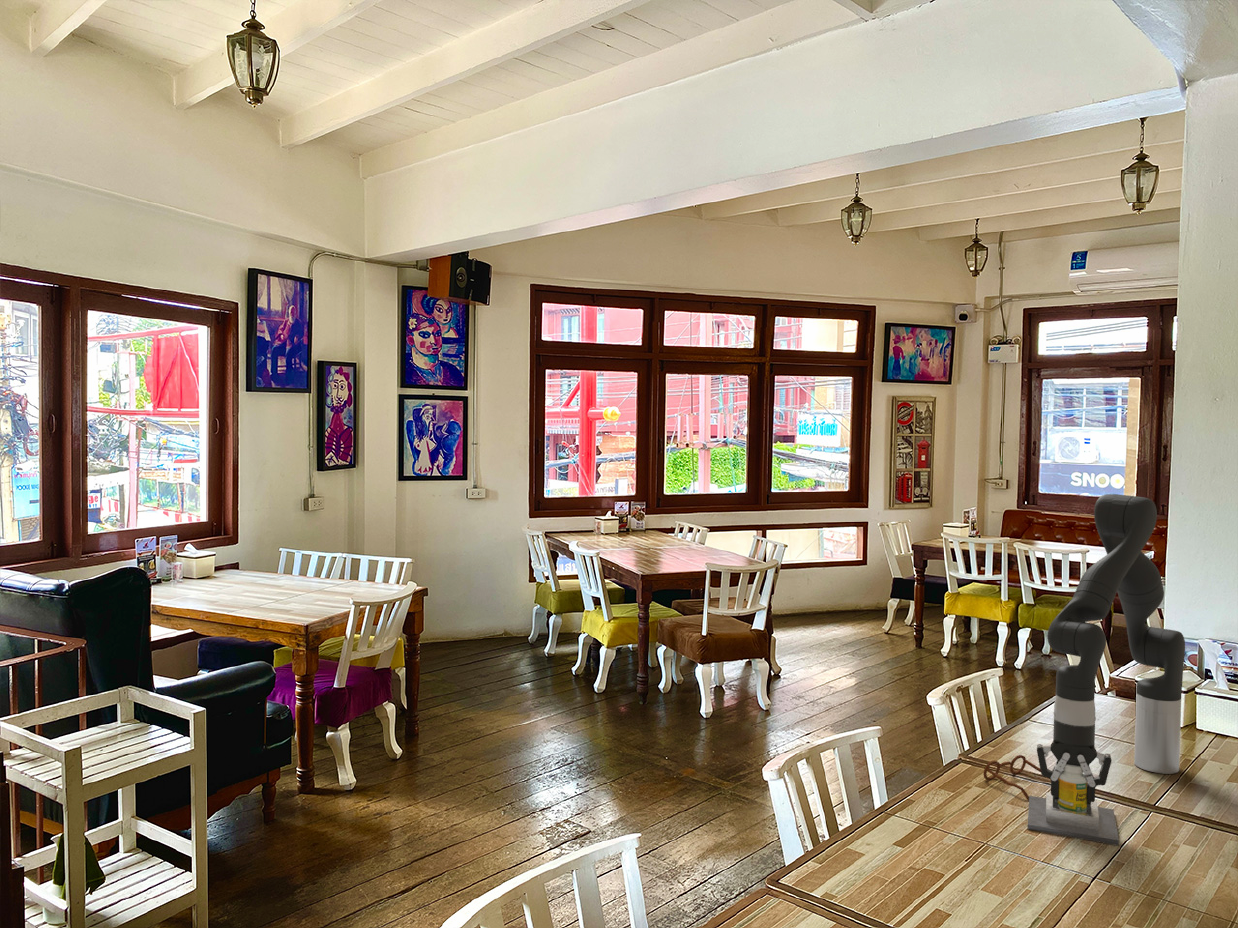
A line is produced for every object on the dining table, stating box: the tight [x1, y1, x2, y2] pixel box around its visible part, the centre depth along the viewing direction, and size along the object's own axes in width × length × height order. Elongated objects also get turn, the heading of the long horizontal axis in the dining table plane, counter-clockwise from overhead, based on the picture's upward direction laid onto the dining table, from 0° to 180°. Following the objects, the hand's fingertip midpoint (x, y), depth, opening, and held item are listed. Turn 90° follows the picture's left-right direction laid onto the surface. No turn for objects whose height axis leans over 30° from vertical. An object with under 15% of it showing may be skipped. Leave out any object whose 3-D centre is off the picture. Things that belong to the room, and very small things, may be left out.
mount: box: [1027, 792, 1120, 846], centre depth 184 cm, size 16×16×4 cm
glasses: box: [983, 754, 1041, 802], centre depth 203 cm, size 13×13×5 cm
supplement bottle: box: [1058, 764, 1088, 813], centre depth 184 cm, size 5×5×10 cm
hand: (1072, 799), depth 184 cm, fingers closed on supplement bottle, 5 cm apart
